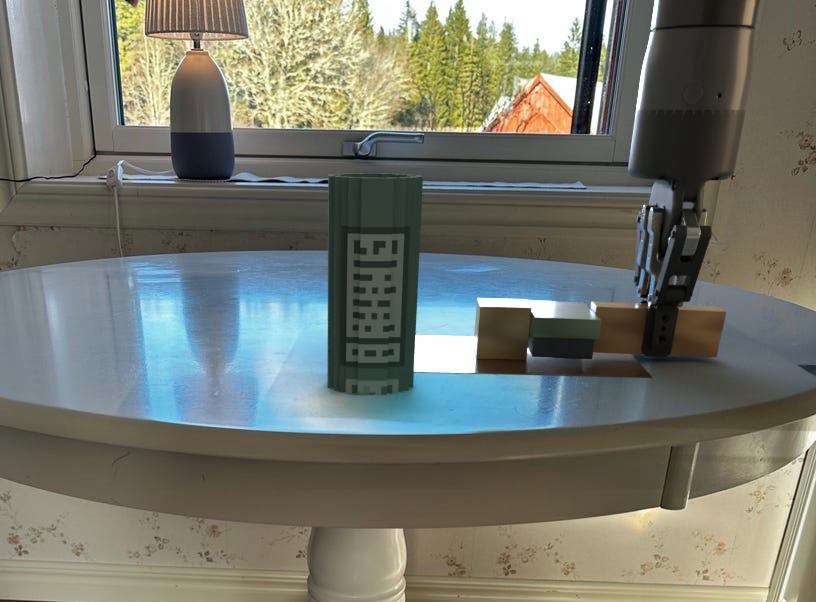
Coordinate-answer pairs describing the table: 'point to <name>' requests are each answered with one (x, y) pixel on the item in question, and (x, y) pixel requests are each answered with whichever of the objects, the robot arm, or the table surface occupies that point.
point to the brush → (617, 329)
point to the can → (373, 281)
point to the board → (516, 361)
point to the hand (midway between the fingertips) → (651, 350)
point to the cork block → (502, 328)
